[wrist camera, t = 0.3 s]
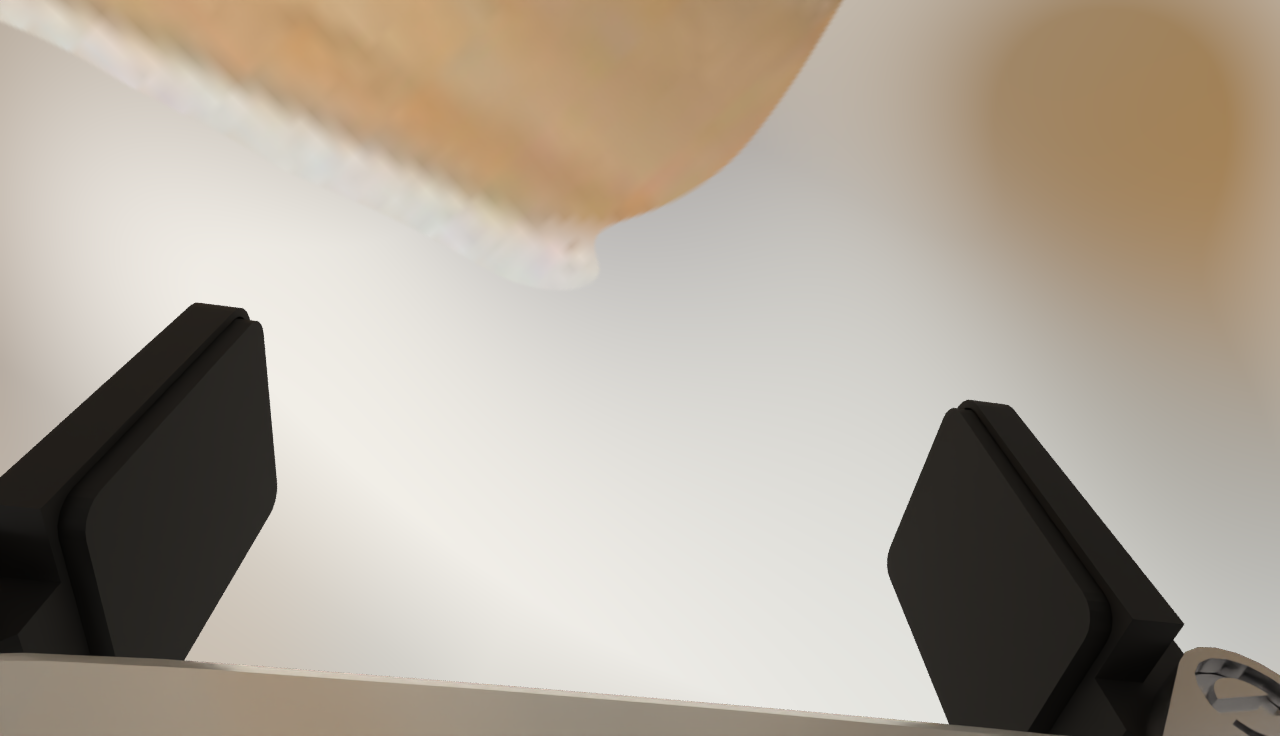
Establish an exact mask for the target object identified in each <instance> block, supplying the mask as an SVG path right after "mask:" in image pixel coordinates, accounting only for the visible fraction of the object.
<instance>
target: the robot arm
mask: <svg viewBox="0 0 1280 736" xmlns="http://www.w3.org/2000/svg"><path fill="white" fill-rule="evenodd" d="M276 493H277V478H276V467H275V456H274V445H273V433H272V422H271V411H270V400H269V390H268V378H267V367H266V356H265V344H264V334H263V328H262V326H261V324H260V323H259V322H258V321H252V320H250V319H249V316H248V314H247V312H246V311H245V310H244V309H243V308H236V307H228V306H220V305H212V304H204V303H194V304H193V305H191V306H189V307H188V308H187V309H186V310H185V311H184V312H183V313H182V314H181V315H180V316H178V317H177V318H176V319H175V320H174V321H173V322H172V323H171V324H170V325H168V326H167V327H166V328H165V329H164V330H163V331H162V332H161V333H159V334H158V335H157V336H156V337H155V338H154V339H153V340H152V341H151V342H150V343H148V344H147V345H146V346H145V347H144V348H143V349H142V350H141V351H140V352H139V353H137V354H136V355H135V356H134V357H133V358H132V359H131V360H130V361H129V362H127V363H126V364H125V365H124V366H123V367H122V368H121V369H120V370H119V371H118V372H116V374H114V375H113V376H112V377H111V378H110V379H109V380H108V381H106V382H105V383H104V384H103V385H102V386H101V387H100V388H99V389H98V390H96V391H95V392H94V393H93V394H92V395H91V396H90V397H89V398H88V399H87V400H86V401H84V402H83V403H82V404H81V405H80V406H79V407H78V408H77V409H75V410H74V411H73V412H72V413H71V414H70V415H69V416H68V417H67V418H65V420H63V421H62V422H61V423H60V424H59V425H58V426H57V427H56V428H55V429H53V430H52V431H51V432H50V433H49V434H48V435H47V436H46V437H44V438H43V439H42V440H41V441H40V442H39V443H38V444H37V445H36V446H34V447H33V448H32V449H31V450H30V451H29V452H28V453H27V454H26V455H25V456H24V457H22V458H21V459H20V460H19V461H18V462H17V463H16V464H15V465H13V466H12V467H11V468H10V469H9V470H8V471H7V472H6V473H5V474H3V475H2V476H1V477H0V736H1280V675H1278V674H1277V673H1275V672H1273V671H1272V670H1270V669H1269V668H1267V667H1265V666H1264V665H1262V664H1260V663H1258V662H1256V661H1253V660H1251V659H1249V658H1247V657H1244V656H1242V655H1240V654H1237V653H1234V652H1230V651H1226V650H1223V649H1219V648H1211V647H1197V648H1194V649H1192V650H1189V651H1187V652H1185V653H1183V652H1182V651H1181V649H1180V648H1179V647H1178V646H1177V644H1176V643H1175V642H1174V638H1175V637H1176V635H1177V634H1178V632H1179V631H1180V630H1181V628H1182V627H1183V625H1184V623H1183V622H1182V621H1181V619H1180V618H1179V617H1178V616H1177V614H1176V613H1175V612H1174V611H1173V609H1172V608H1171V607H1170V606H1169V605H1168V603H1167V602H1166V600H1165V599H1164V598H1163V597H1162V595H1161V594H1160V593H1159V592H1158V591H1157V589H1156V588H1155V587H1154V585H1153V584H1152V583H1151V582H1150V580H1149V579H1148V578H1147V577H1146V575H1145V574H1144V573H1143V572H1142V570H1141V569H1140V568H1139V567H1138V565H1137V564H1136V563H1135V561H1134V560H1133V559H1132V558H1131V556H1130V555H1129V554H1128V553H1127V552H1126V550H1125V549H1124V548H1123V546H1122V545H1121V544H1120V543H1119V541H1118V540H1117V539H1116V538H1115V536H1114V535H1113V534H1112V533H1111V531H1110V530H1109V529H1108V528H1107V527H1106V525H1105V524H1104V523H1103V521H1102V520H1101V519H1100V517H1099V516H1098V515H1097V514H1096V512H1095V511H1094V510H1093V509H1092V507H1091V506H1090V505H1089V504H1088V502H1087V501H1086V500H1085V499H1084V497H1083V496H1082V495H1081V494H1080V492H1079V491H1078V490H1077V489H1076V487H1075V486H1074V485H1073V484H1072V482H1071V481H1070V480H1069V479H1068V477H1067V476H1066V475H1065V474H1064V472H1063V471H1062V470H1061V468H1060V467H1059V466H1058V465H1057V463H1056V462H1055V461H1054V460H1053V459H1052V457H1051V456H1050V455H1049V453H1048V452H1047V451H1046V450H1045V448H1043V446H1042V445H1041V444H1040V442H1039V441H1038V440H1037V438H1036V437H1035V436H1034V435H1033V433H1032V432H1031V431H1030V429H1029V428H1028V427H1027V426H1026V424H1025V423H1024V422H1023V421H1022V419H1021V418H1020V417H1019V416H1018V414H1017V413H1016V412H1015V411H1014V409H1013V408H1011V407H1010V406H1009V405H1005V404H998V403H989V402H981V401H974V400H966V401H964V402H962V404H960V406H958V408H952V409H950V410H949V411H948V412H947V413H946V414H945V416H944V418H943V420H942V423H941V425H940V428H939V430H938V433H937V435H936V437H935V440H934V442H933V445H932V447H931V450H930V452H929V454H928V457H927V459H926V462H925V464H924V467H923V469H922V471H921V474H920V476H919V479H918V481H917V483H916V486H915V488H914V491H913V493H912V496H911V498H910V501H909V503H908V505H907V508H906V510H905V513H904V515H903V517H902V520H901V522H900V525H899V527H898V530H897V532H896V534H895V537H894V539H893V542H892V544H891V547H890V549H889V553H888V558H887V568H888V574H889V577H890V580H891V582H892V585H893V587H894V589H895V592H896V594H897V597H898V599H899V602H900V604H901V607H902V609H903V612H904V614H905V617H906V619H907V622H908V624H909V626H910V628H911V631H912V634H913V636H914V639H915V641H916V644H917V646H918V649H919V651H920V654H921V656H922V658H923V661H924V663H925V666H926V668H927V671H928V673H929V676H930V678H931V681H932V683H933V686H934V688H935V690H936V693H937V695H938V697H939V700H940V703H941V705H942V708H943V710H944V713H945V715H946V717H947V720H948V723H949V724H938V723H927V722H916V721H905V720H894V719H882V718H872V717H861V716H849V715H839V714H828V713H817V712H806V711H795V710H784V709H773V708H761V707H750V706H739V705H727V704H715V703H704V702H692V701H680V700H669V699H657V698H646V697H634V696H622V695H609V694H598V693H586V692H575V691H563V690H551V689H539V688H526V687H515V686H503V685H490V684H478V683H464V682H452V681H440V680H427V679H415V678H403V677H390V676H377V675H364V674H352V673H339V672H326V671H315V670H302V669H289V668H277V667H264V666H249V665H237V664H223V663H209V662H196V661H184V660H185V658H186V656H187V655H188V653H189V651H190V649H191V648H192V646H193V644H194V643H195V641H196V639H197V637H198V636H199V634H200V632H201V631H202V629H203V627H204V626H205V624H206V622H207V620H208V619H209V617H210V615H211V614H212V612H213V610H214V609H215V607H216V605H217V604H218V602H219V600H220V598H221V597H222V595H223V593H224V592H225V590H226V588H227V586H228V585H229V583H230V581H231V580H232V578H233V576H234V575H235V573H236V571H237V569H238V568H239V566H240V564H241V563H242V561H243V559H244V558H245V556H246V554H247V552H248V551H249V549H250V547H251V546H252V544H253V542H254V540H255V539H256V537H257V535H258V534H259V532H260V530H261V529H262V527H263V525H264V524H265V522H266V520H267V518H268V517H269V515H270V513H271V511H272V509H273V506H274V503H275V499H276Z"/></svg>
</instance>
